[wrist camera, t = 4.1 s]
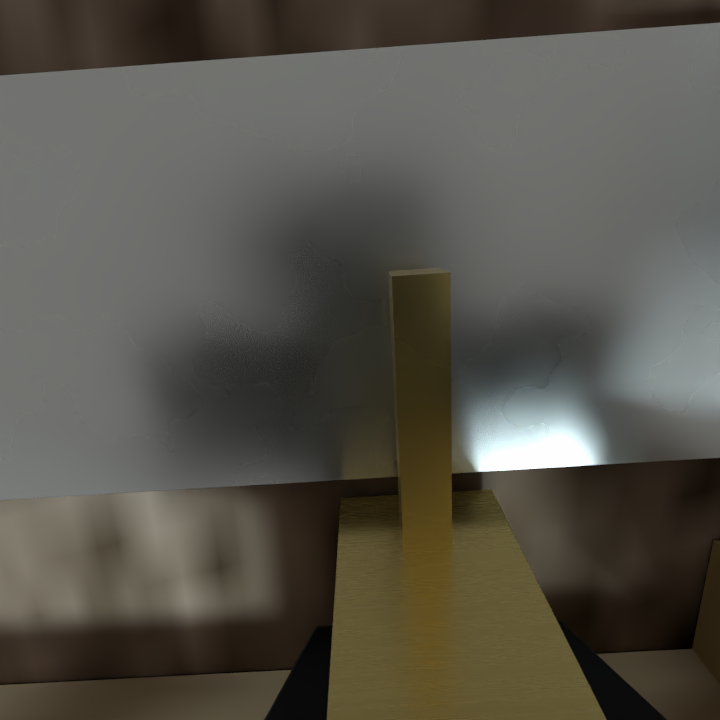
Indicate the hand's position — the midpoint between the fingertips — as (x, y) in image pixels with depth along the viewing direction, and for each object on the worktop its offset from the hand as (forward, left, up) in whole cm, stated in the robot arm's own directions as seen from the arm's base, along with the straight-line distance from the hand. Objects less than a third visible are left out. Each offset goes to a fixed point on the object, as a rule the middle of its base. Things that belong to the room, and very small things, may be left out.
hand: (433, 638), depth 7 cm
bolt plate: (+1, -6, -2) cm, 6 cm away
